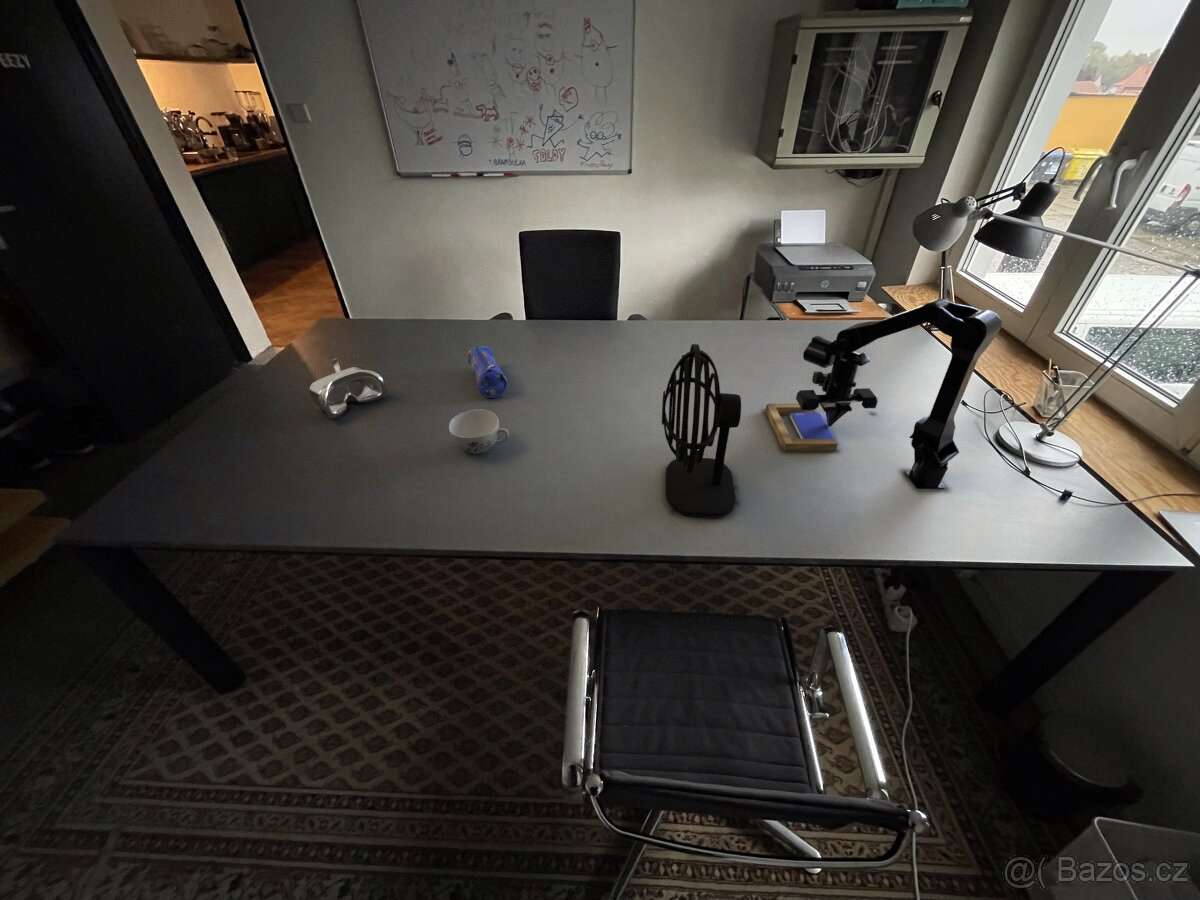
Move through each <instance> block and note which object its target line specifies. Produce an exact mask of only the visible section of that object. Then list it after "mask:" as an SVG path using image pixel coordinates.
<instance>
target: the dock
mask: <svg viewBox="0 0 1200 900" xmlns="http://www.w3.org/2000/svg"><path fill="white" fill-rule="evenodd" d="M764 412H765V414H766V416H767V418H768V420H769V423H770V425H771V427H772V429H773V431H774V433H775V436H776V437H777V440H778V442H779V444H780V446H781V448H782V450H783V452H786V453H787V452H789V453H790V452H836V450H837V447H838V445H839V443H838V441H837V439H836V438H835V439H836V440H835V439H801V438H792V437H791V435H790V433H789V431H788V429H787V427H786V425H785V423H784V421H783V419H782V417H781V416H785V415H786V416H787V415H789V416H790V414H791V413H815V410H803V409H801V407H800V405H799V403H798V402H797V403H766V406H765V411H764Z"/></svg>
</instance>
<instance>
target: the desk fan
mask: <svg viewBox="0 0 1200 900" xmlns="http://www.w3.org/2000/svg"><path fill="white" fill-rule="evenodd" d="M693 366H694V377H693V376H692V374H693ZM710 366H711V368H712V370H713V372H711V374H710ZM678 370H679V371H678ZM677 371H678V372H679V373H678V379H677ZM702 371H703V375H704V379H703V380H704V381H702ZM691 383H693V384H694V393H693V409H692V410H693V411H692V427H691V429H692V430H691V439H690V442H689V411H690V396H691V394H690V393H691ZM713 383H714V392H713V390H712V385H713ZM702 389H703V390H704V391H703V392H704V393H703V415H702V425H701V436H700V442H698V438H699V431H700V430H699V427H700V418H701V417H700V416H701V398H702V397H701V396H702ZM682 393H683V396H682ZM682 397H683V400H682ZM668 398H669V401H668V402H669V403H668V418H667V413H666V407H667V400H668ZM710 399H711V400H712V402H713V405H714V409H713V419H712V420H713V421H712V428H711V430H710V432H709V413H710V412H709V411H710ZM682 402H683V403H682ZM661 403H662V404H661V425H663V429H664V430H663V431H664V436H665V439H666V442H667V445H668V447H669V449H670V452H672V454H673V455H674V456H675V458H674V459H673V460H672V461H670V462H669V463H668V464H667V466H666V469H665V500H666V502H667V504H668V505H669V507H671V508H672V509H673V510H674V511H675V512H677V513H679V514H681V515H685V516H693V517H708V518H720V517H723V516H726V515H728V514H729V513H731V512H732V511H733V509H734V507H735V505H736V501H737V495H736V490H735V489H736V488H735V483H734V476H733V473H732V471H731V470H730V468H729V467H728V466H727V465H726V464H725V458H726V452H727V446H728V441H729V435H730V429H731V428H732V429H733V428H734V429H735V428H738V427H739V425H740V423H741V415H742V398H741V395H739V394H735V393H726V392H725V393H724V392H721V387H720V380H719V374H718V369H717V368H716V364H715V362H714V361H713V359H712V358H711V356H710V355H709V354H708V353H707V352H705V351H704V350H702V349H701V348H700V344H698V343H691V345H690V349H689V351H688V352H686V353H685V354H682V355H681V357H680V359H679V360H678V361H677V363H676V364H675V366H674V368H673V370H672V372H671V374H670V376H669V380H668V382H667V386H666V389H665V390H664V391H663V392H662V402H661ZM681 409H682V411H681ZM681 412H682V413H681ZM681 414H682V416H681ZM681 417H682V418H681ZM681 419H682V420H681ZM717 432H718V436H717V442H716V449H715V456H714V458H711V457H704V455H705V449H706V448H707V447H708V448H711V447H713V445H714V442H715V439H716V434H717ZM674 441H675V447H674V446H673V443H674Z"/></svg>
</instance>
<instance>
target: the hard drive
mask: <svg viewBox="0 0 1200 900" xmlns="http://www.w3.org/2000/svg"><path fill="white" fill-rule="evenodd" d="M789 418H790V420H791V422H792V424H793V426H794V429H795V430H796V432H797V434H798V436H799V439H835V440H836V441H837V439H836V437H835V436H834V434H833V432H832V430H831V429H830V427H828V425H827V421H825V419H824V417H823V416H822V414H821V412H814V413H791V414H790V415H789Z"/></svg>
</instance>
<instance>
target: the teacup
mask: <svg viewBox="0 0 1200 900" xmlns="http://www.w3.org/2000/svg"><path fill="white" fill-rule="evenodd" d="M448 431H449V433H450V435H451V437H452V439H453V441H454V442H455V443H456V444H457V445H458V446H459V447H460V448H461V449H462V450H464V451H467V452H469V453H471V454H473V455H479V454H482V453H485V452H487V451H488V450H489V449H490V448H491V447H492V446H494V444H501V443H504V442H506V441H508V439H509V437H510V434H509V430H508V429H506V428H505V427H500V419H499V417H498V415H497V414H496V413H494V412H493V411H491V410H488V409H483V408H482V409H481V408H479V409H478V408H477V409H476V408H475V409H469V410H467V411H463V412H460V413H458V414H456V415H454V416H453V417H452V418H451V419H450V422H449V424H448ZM500 433H503V434H504V435H505V437H504V438H502V439H498V436H499V435H500Z"/></svg>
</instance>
